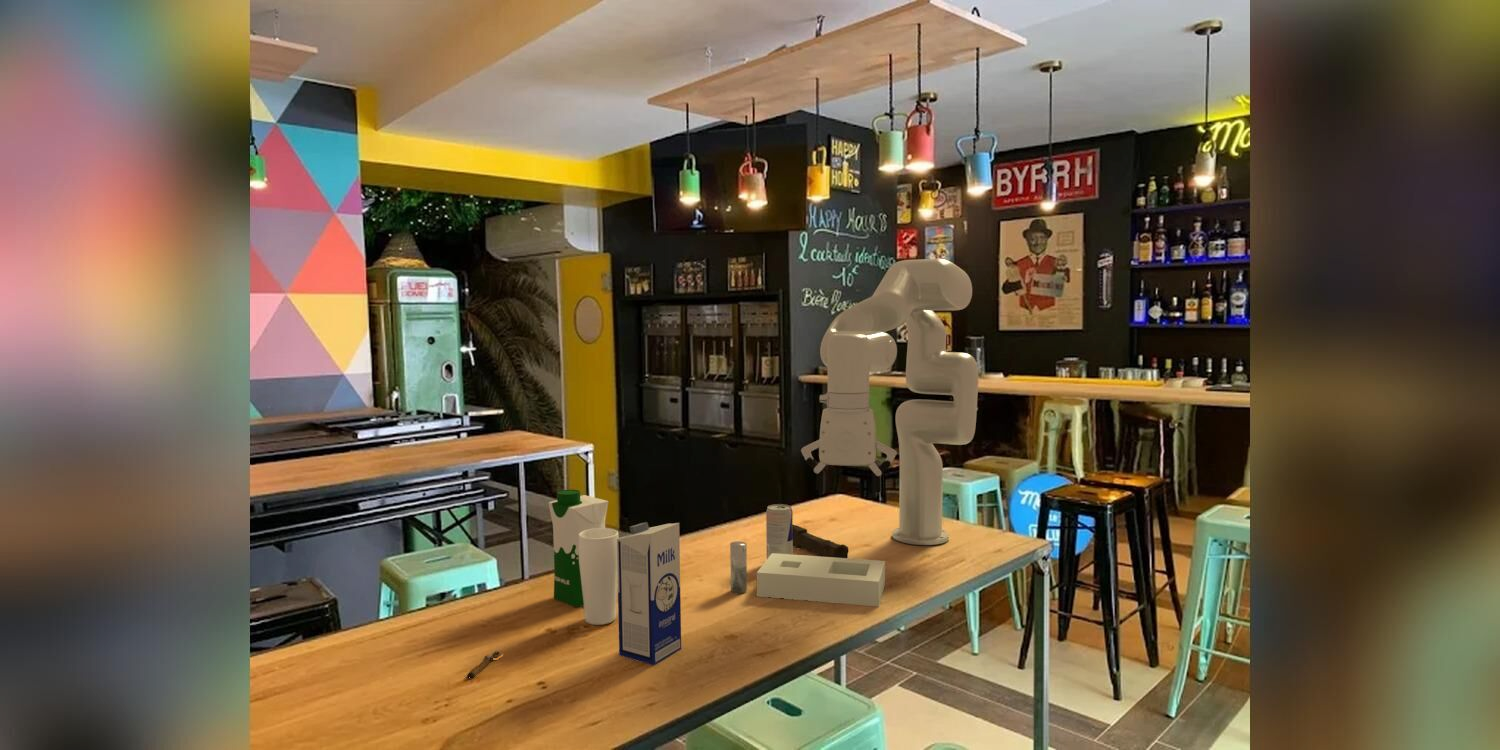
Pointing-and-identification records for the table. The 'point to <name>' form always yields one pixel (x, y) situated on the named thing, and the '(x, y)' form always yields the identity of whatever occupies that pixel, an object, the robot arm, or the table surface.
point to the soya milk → (572, 540)
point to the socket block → (822, 579)
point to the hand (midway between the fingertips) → (848, 494)
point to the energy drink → (779, 529)
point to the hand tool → (817, 544)
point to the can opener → (481, 666)
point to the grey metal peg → (738, 567)
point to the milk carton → (649, 592)
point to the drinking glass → (598, 574)
